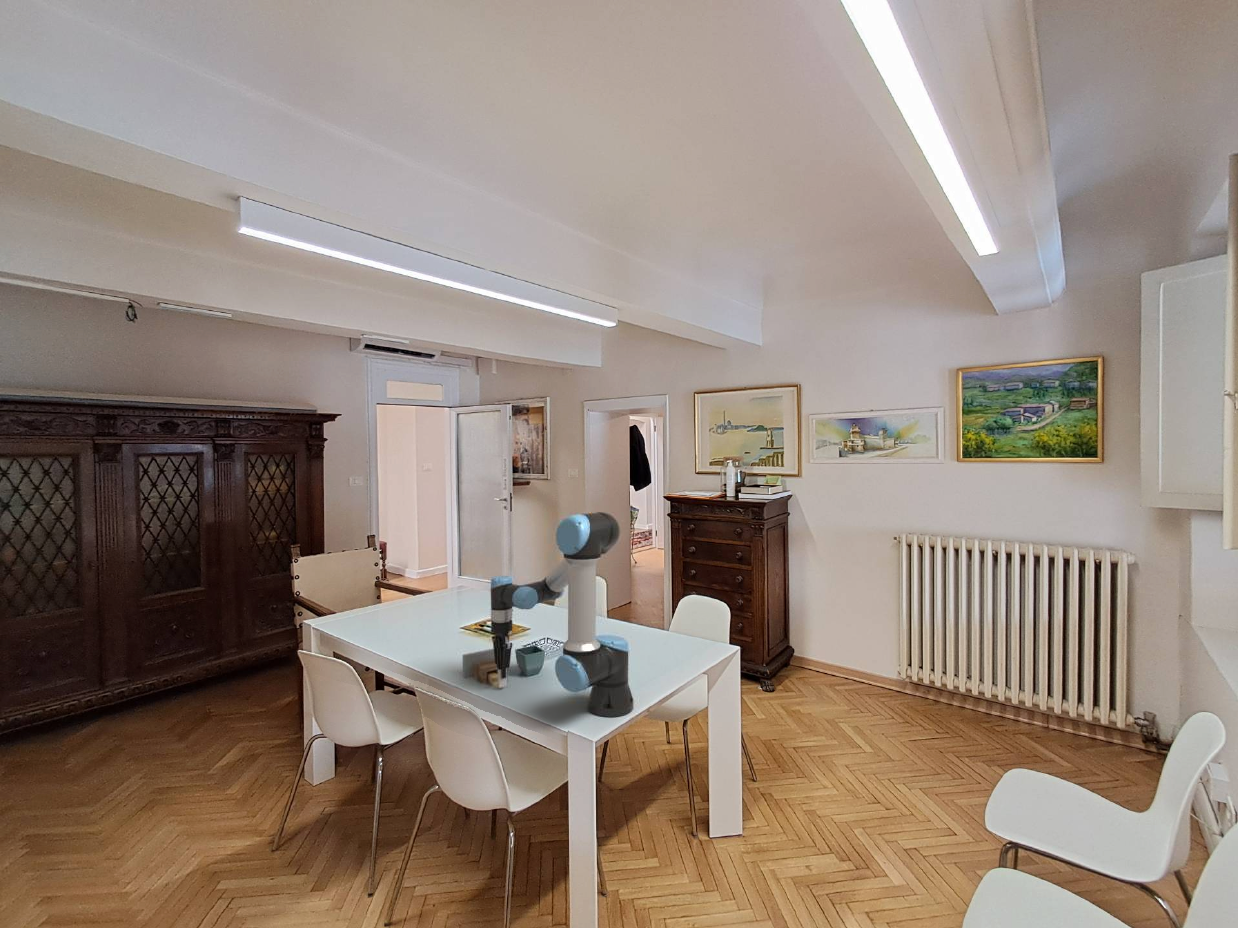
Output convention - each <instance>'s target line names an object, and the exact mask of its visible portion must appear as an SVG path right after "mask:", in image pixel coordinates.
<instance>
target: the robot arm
mask: <svg viewBox="0 0 1238 928" xmlns="http://www.w3.org/2000/svg"><path fill="white" fill-rule="evenodd" d="M620 529H621V528H620V525H619V523H618V520H617V519H616V518H615V517H614V516H613V515H612V514H609V513H608V512H604V511H603V512H602V511H601V512H600V511H599V512H588V513H576V514H573V515H568V516H566V517H564V518H563V519H562V521H561V522H559V524H558V526H557V529H556V531H555V541H556V545H557V546H558V549H559V551H560V552H561V553H563V559H562V561H561V562H559V563H558V565H556V566H555V567H554V568H553V569H552V571H550V572H549V573H548V574H547V575H546V576H545V577H544V578H543V579H542V580H540V581H535V582H531V583H525V584H515V583H514V582H513V578H512V577H511V576H510V575H497V576H493V577H492V578H491V581H490V620H491V623H490V631H491V633H493V634H494V635H492V636H491V641H492V646H493V648H492V649H494V659H495V664H497V667H498V685H497V687H498V688H499V689H500V688H504V687H507V686H508V685H507V684H508V683H507V682H508V680H507V677H508V675H507V671H508V670H507V669H509V668H510V665H511V656H512V648H513V643H512V642H510V635H509V633H510V632H512V631H513V629H514V628H513V620H512V619H513V612H514V609H513V608H517V609H519V610H526V611H527V610H532V609H533V608H534V607H535V606H536V605H538V604H542V603H547V602H551V601H552V602H553V601H555V600H558V599H559V598H561V597H562V596H563V595H564V592H565V588H566V587H567V588H568V590H567V591H568V593H567V599H568V601H567V607H568V608H567V618H568V619H567V640H566V641H565V642H564V643H563V644H562V654H561V655H560V656H558V658H557V659H556V660H555V665H554V671H555V675H556V678H557V680H558V682H559V683H560V685H561V686H562V687H563V688H564V689H565V690H567V691H568V692H571V693H578V692H581V691H586V690H588V689H589V688H590V687H591V689H590V692H589V696H588V699H587V710H588V711H589V712H590V713H591V714H593V715H595V716H599V717H604V718H614V717H615V718H617V717H621V716H625V715H627V714H630V713H631V712H632V711H633V710H634V709H635V708H634V697H633V694H632V691H631V688H630V685H629V652H630V651H629V643H628V640H627V639H625V638H624V637H621V636H619V635H618V636H617V635H611V634H610V635H609V634H599V635H596V633H597V631H596V627H597V626H596V625H597V624H596V619H597V616H596V615H597V610H596V608H597V605H596V603H597V601H596V600H597V599H596V598H597V594H596V593H597V563H598V561H599V560H600V559H601V558H602V555H605V554H607V553H608V552H609V551H610V550H611V549H612V548H613V547H614V546H615V545H616V543H617V542H618V540H619V538H620V533H621V530H620Z"/></svg>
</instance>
